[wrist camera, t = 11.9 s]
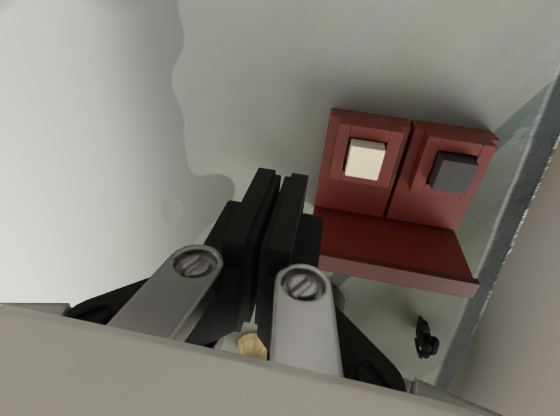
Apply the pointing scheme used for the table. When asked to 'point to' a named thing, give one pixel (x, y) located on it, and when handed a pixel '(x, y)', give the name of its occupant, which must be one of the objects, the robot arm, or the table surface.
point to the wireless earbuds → (425, 340)
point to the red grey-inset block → (417, 168)
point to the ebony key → (453, 173)
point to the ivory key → (364, 159)
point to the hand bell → (252, 346)
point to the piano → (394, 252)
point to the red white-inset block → (333, 181)
